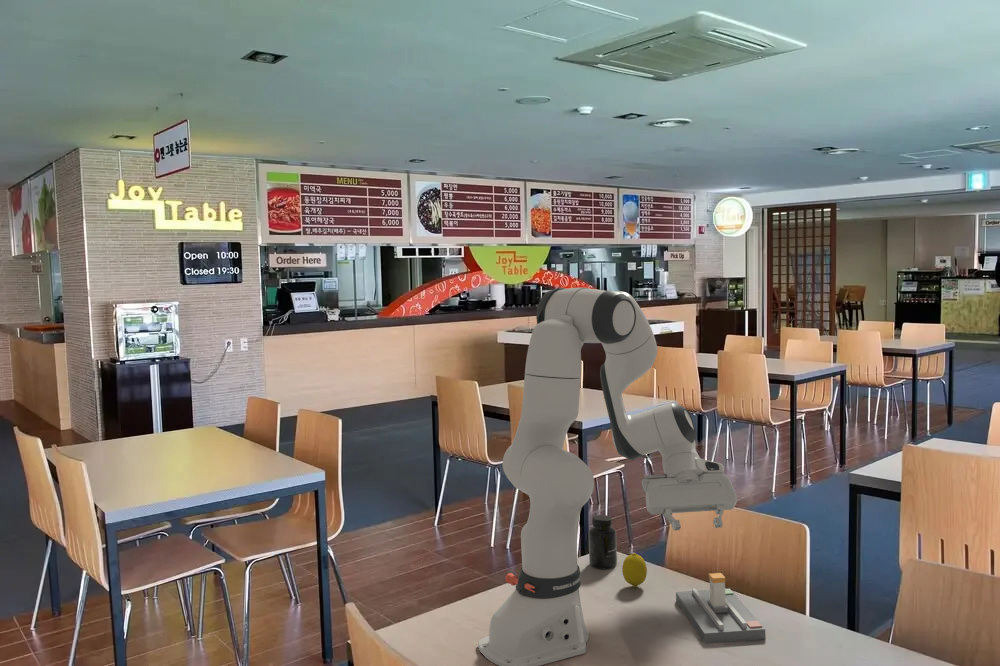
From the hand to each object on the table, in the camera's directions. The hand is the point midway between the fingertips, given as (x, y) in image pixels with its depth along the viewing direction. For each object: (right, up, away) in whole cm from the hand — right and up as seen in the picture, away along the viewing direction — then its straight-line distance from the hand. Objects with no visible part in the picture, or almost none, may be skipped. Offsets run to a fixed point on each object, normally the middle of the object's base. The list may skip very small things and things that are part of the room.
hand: (698, 527), depth 174 cm
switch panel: (+1, -16, -11) cm, 20 cm away
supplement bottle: (-18, -15, +22) cm, 32 cm away
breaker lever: (+1, -14, -11) cm, 18 cm away
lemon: (-13, -16, +7) cm, 21 cm away
